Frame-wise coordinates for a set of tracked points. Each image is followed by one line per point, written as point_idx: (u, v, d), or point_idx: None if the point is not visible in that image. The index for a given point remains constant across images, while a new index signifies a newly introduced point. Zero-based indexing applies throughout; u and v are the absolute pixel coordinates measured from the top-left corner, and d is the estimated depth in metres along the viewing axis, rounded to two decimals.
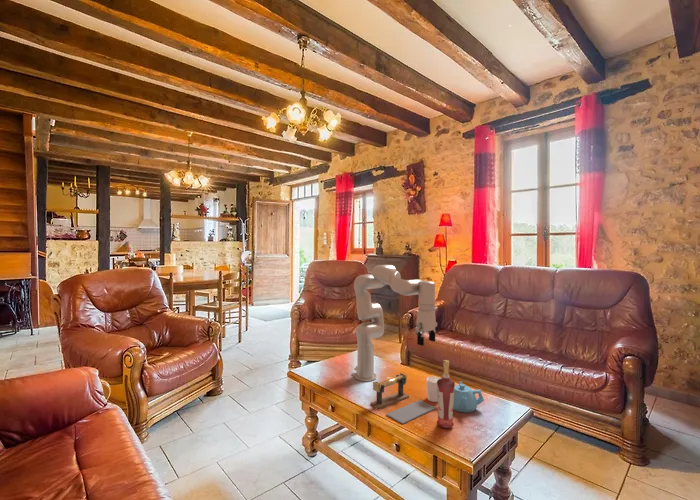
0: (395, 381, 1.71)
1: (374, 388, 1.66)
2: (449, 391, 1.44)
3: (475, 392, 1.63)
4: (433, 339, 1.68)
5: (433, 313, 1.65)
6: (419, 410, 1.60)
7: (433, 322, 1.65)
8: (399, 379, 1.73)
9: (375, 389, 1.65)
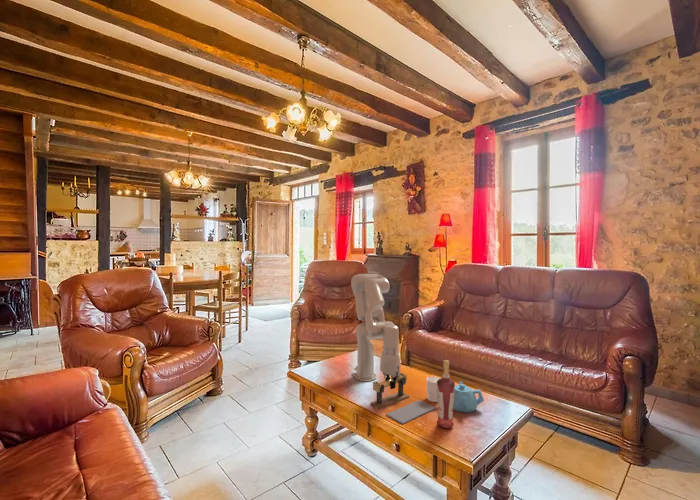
0: None
1: (374, 388, 1.66)
2: (449, 391, 1.44)
3: (475, 392, 1.63)
4: None
5: None
6: (419, 410, 1.60)
7: None
8: (399, 379, 1.73)
9: (375, 389, 1.65)
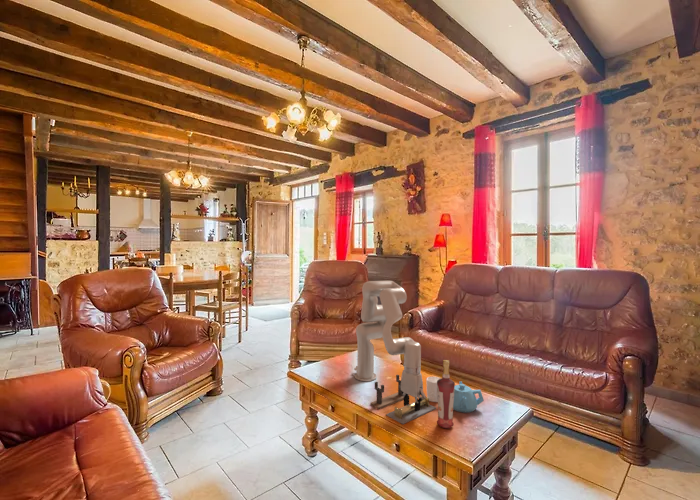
0: None
1: (396, 414, 1.54)
2: (449, 391, 1.44)
3: (475, 392, 1.63)
4: (408, 402, 1.63)
5: None
6: (419, 410, 1.60)
7: None
8: (421, 404, 1.62)
9: (397, 415, 1.54)
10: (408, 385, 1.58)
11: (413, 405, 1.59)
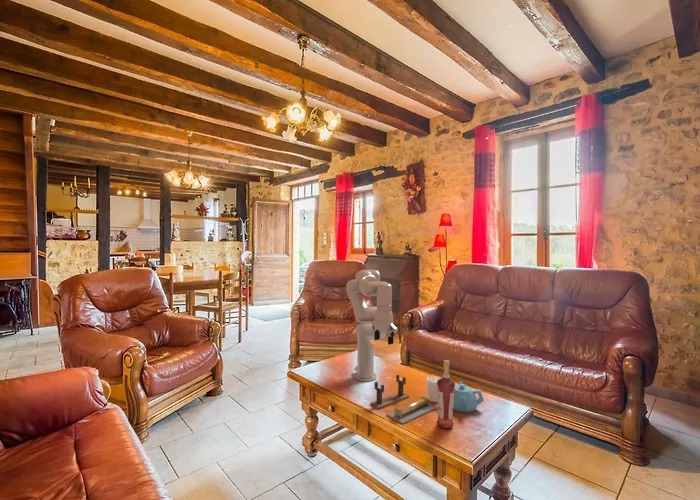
0: (417, 406, 1.60)
1: (396, 414, 1.54)
2: (449, 391, 1.44)
3: (475, 392, 1.63)
4: (379, 337, 1.79)
5: None
6: (419, 410, 1.60)
7: None
8: (421, 404, 1.62)
9: (397, 415, 1.54)
10: (380, 322, 1.72)
11: (413, 405, 1.59)
